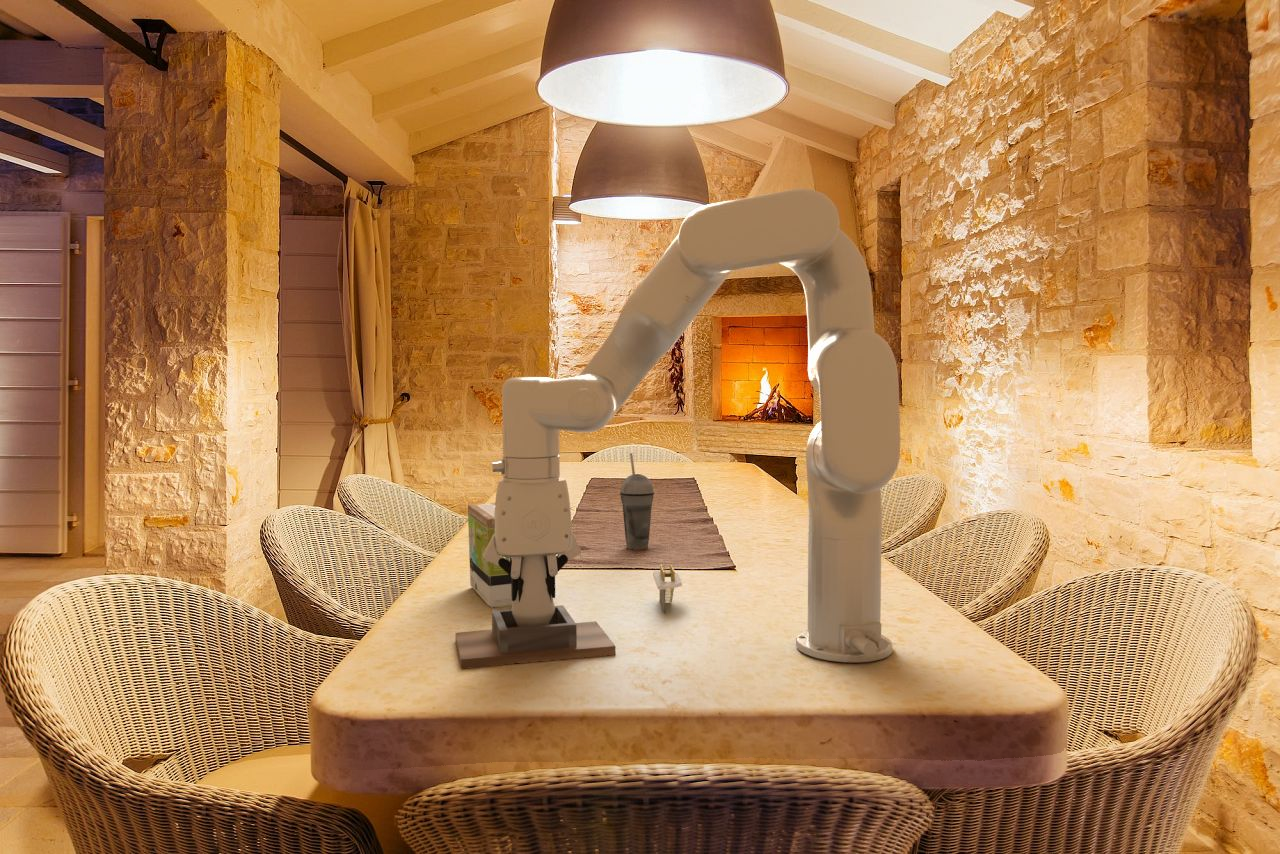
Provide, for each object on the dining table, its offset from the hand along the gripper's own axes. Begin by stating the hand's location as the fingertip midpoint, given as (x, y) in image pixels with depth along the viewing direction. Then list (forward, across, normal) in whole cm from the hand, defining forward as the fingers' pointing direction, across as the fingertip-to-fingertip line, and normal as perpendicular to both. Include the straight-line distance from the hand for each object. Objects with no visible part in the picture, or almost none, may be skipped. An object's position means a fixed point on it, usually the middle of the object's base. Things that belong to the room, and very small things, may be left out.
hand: (533, 603), depth 121 cm
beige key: (+7, +24, +15) cm, 29 cm away
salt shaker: (+3, 0, 0) cm, 3 cm away
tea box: (+6, 0, +30) cm, 31 cm away
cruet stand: (+6, 0, 0) cm, 6 cm away
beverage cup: (+6, +31, +62) cm, 70 cm away
